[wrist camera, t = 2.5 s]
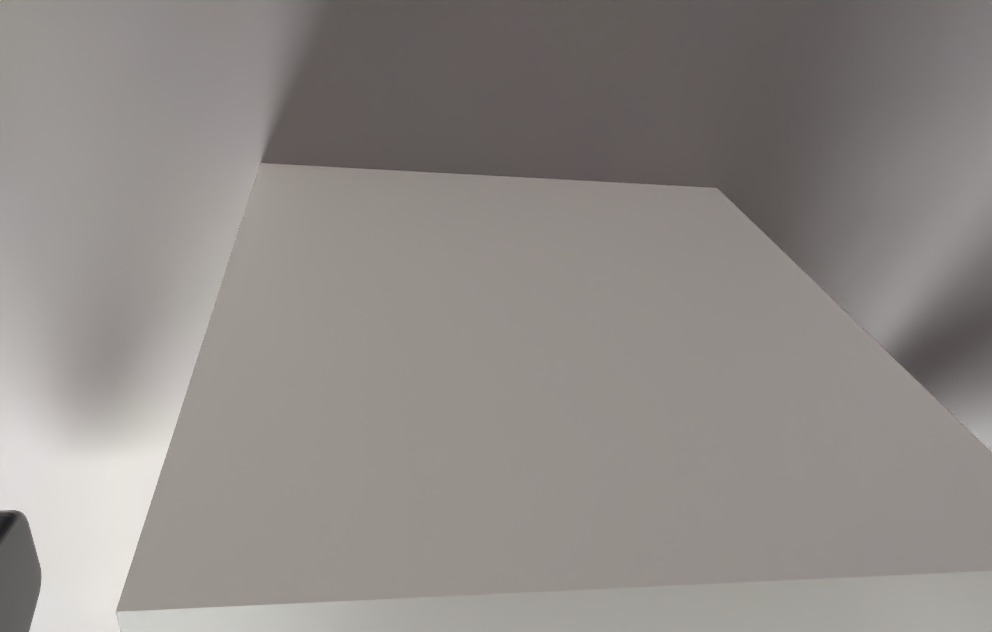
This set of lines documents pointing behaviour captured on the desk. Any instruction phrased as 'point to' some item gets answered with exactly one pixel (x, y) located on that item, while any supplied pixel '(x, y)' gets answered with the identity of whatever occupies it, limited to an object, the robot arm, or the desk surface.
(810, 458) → the white block
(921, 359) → the desk surface
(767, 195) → the desk surface
